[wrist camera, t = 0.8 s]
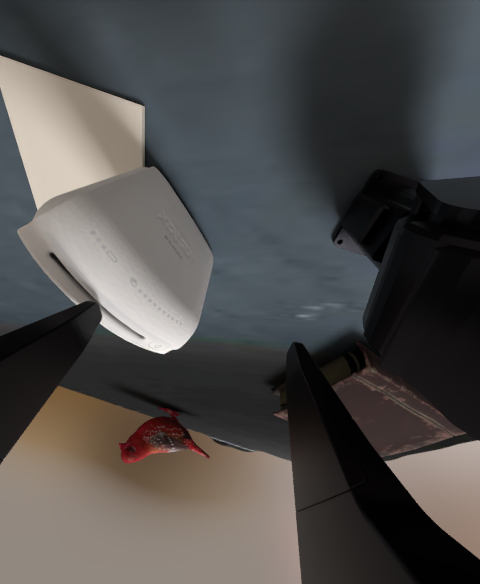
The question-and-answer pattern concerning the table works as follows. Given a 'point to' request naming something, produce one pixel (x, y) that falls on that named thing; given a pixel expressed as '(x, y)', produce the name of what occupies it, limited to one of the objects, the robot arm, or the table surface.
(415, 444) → the diary
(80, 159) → the mat
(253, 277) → the table surface
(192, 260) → the photo printer
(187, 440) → the decorative bird figurine
